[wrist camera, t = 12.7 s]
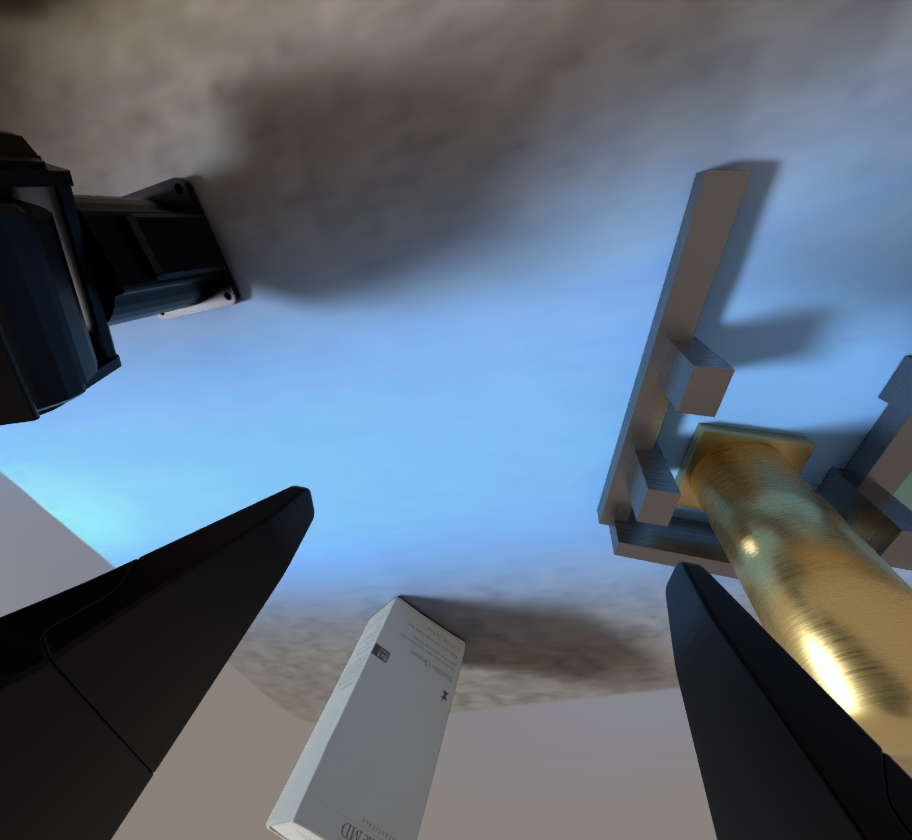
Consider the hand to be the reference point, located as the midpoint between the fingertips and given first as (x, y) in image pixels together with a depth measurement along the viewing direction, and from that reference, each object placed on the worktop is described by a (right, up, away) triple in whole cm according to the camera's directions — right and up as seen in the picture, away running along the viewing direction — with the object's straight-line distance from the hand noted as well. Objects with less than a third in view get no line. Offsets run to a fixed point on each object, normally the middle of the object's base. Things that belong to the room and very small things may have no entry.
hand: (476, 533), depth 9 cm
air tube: (+15, 0, +11) cm, 18 cm away
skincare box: (-4, -17, +26) cm, 31 cm away
